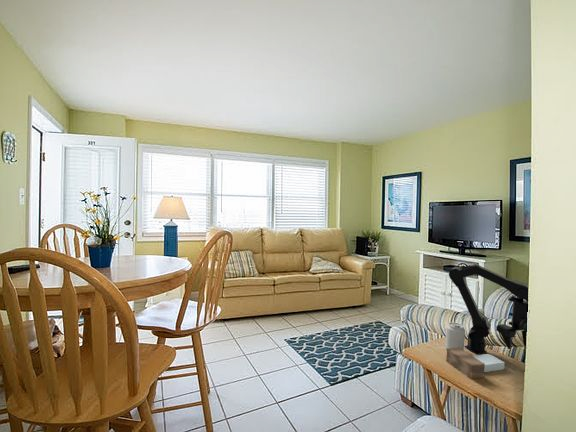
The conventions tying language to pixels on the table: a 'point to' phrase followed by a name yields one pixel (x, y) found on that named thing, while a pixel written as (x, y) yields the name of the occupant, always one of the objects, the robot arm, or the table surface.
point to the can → (455, 336)
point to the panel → (490, 362)
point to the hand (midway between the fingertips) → (517, 347)
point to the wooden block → (465, 363)
